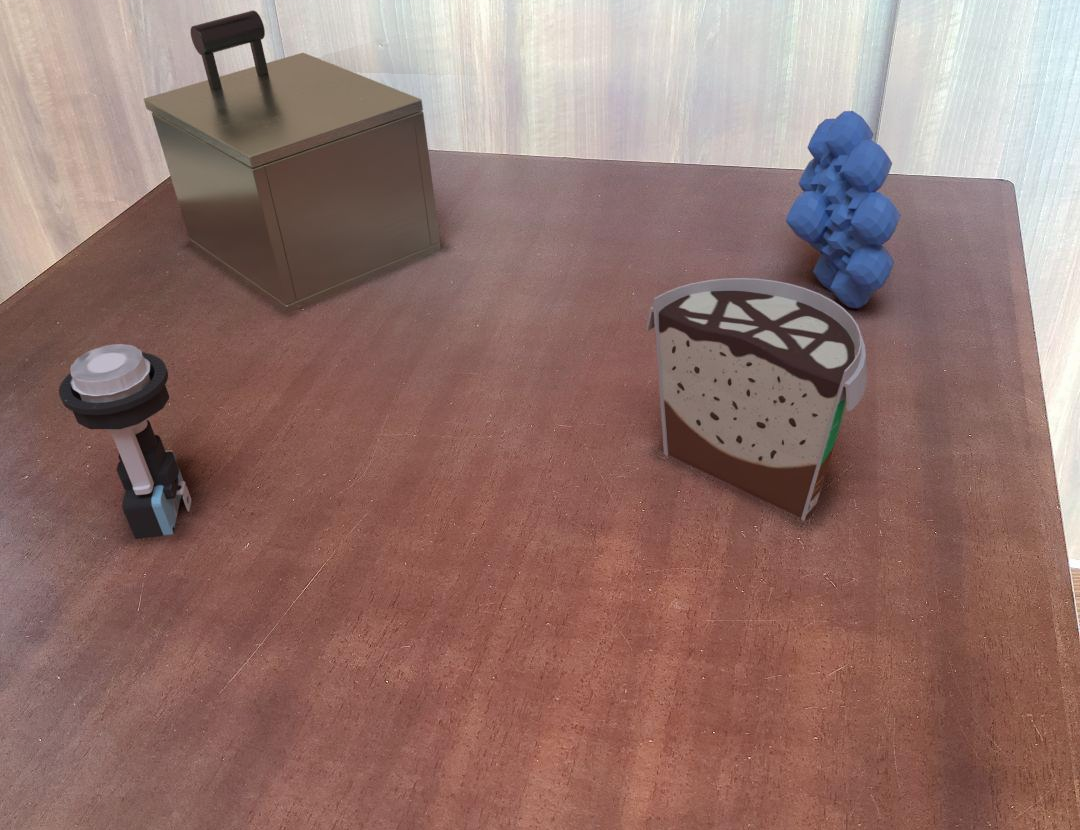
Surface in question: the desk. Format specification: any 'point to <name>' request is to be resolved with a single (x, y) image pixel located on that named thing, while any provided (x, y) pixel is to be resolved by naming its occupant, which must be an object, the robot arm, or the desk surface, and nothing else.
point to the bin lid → (274, 98)
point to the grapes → (846, 209)
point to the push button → (130, 430)
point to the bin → (309, 209)
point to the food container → (756, 383)
